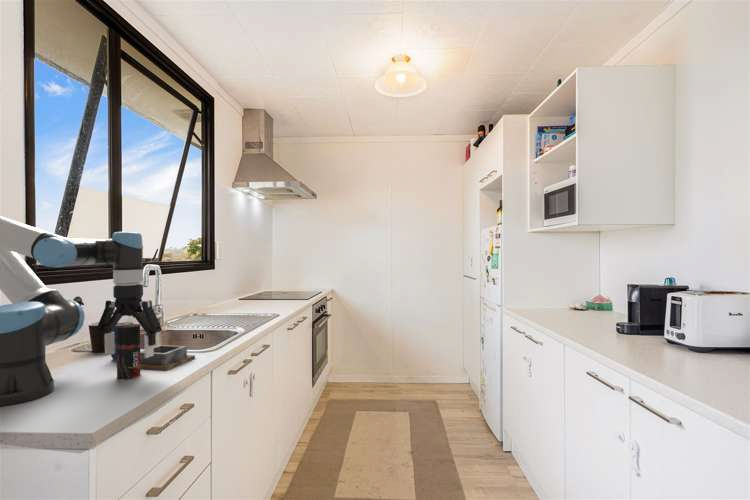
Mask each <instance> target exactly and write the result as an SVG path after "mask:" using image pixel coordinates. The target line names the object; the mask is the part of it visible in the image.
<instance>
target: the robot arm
mask: <svg viewBox="0 0 750 500" xmlns="http://www.w3.org/2000/svg"><path fill="white" fill-rule="evenodd" d="M143 250H144V246H143V236H142V234H141V233H139V232H136V231H135V232H134V231H116V232H113V234H112V237H111V238H107V239H106V238H75V237H74V238H73V237H65V236H62V235H60V234H59V235H58V234H56V233H52V232H49V231H48V230H47V231H46V230H44V229H40V228H38V227H35V226H31V225H28V224H25V223H23V222H19V221H16V220H12V219H10V218H8V217H7V218H6V217H3V216H0V291H1V292H2V293H3V294H4V295H5V296H6V298H7V299H8V300H9V301H10V303H8V304H7V303H6V304H2V305H0V407H1V406H3V407H4V406H10V405H14V404H15V405H16V404H21V403H26V402H28V401H32V400H36V399H39V398H42V397H44V396H47V395H48V394H49V395H50V393H52V392H53V391H54V389H55V380H54V378H53V376H52V373H51V371H50V369H49V368H50V367H49V366H48V364H47V361H46V360H47V359H46V346H49V345H53V344H56V343H58V342H63V341H66V340H68V339H69V338H72V337H73V336H75V335H77V333H79V331H80V330H81V329H82V328H83V325H84V321H85V319H86V318H85V316H86V315H85V311H84V309H83V307H82V306H81V304H80V303H78V302H77V301H75V300H71V299H67V298H65V297H63V295H62V294H61V292H60V291H59V290H58V289H55V288H48V287H47V286H46V284H45V283H43V281H42V280H41V279H40V278H39V277H38V276H37V274H36V273H35V272H34V270H33V269H32V268H31V267H30V266H29V265H28V264H27V263H26V261H25V260H24V259H23V258H22V257H21V255H22V256H25V257H27V258H32V259H35V261H36V262H38V263H39V265H41V266H44V267H46V268H47V267H49V268H56V269H57V268H58V269H59V268H64V267H73V266H75V267H77V266H91V265H112V269H113V270H112V273H113V274H112V279H113V280H112V283H113V284H114V286H113V289H112V290H113V298H114V299H108V300H105V305H104V309H103V312H102V315H101V317H100V320H99V321H98V322H99V324H98V326H97V331H101V332H102V333H103V343H104V344H105V352H104V356H105V357H108V356H111V354H115V347H114V332H112V330H113V328H114V327H115V326H116V324H117V323H120V322H119V321H120V320H121V319H122V318H123V317H124V316H127V317H132V318H134V319H136V321H137V323H138V324H140V327H142V329H143V330H144V332H145V333H146V334H144V335H143V336H144V337H143V338H144V340H143V341H144V350H145V358H148V357H151V356H154V347H155V346H156V334H158V333H161V332H162V330H163V328H162V326H161V324H160V321H159V319H158V317H157V315H156V313H155V311H154V308H153V301H152V300H151V299H149V300H142V297H143V296H144V285H143V284H142V283H143V282H144V276H143V275H144V270H143V269H144V267H143V264H144V263H143V256H144V252H143ZM115 308H116V309H115Z"/></svg>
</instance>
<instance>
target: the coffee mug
mask: <svg viewBox="0 0 750 500" xmlns="http://www.w3.org/2000/svg"><path fill="white" fill-rule="evenodd" d="M98 324H99V321H96V322H92V323H89V324H87V325H88V332H89V339H90V345H91V351H94V352H93V353H103V352H102V351H105V344H104V343H103V333H102V332H101V331H97V326H98Z"/></svg>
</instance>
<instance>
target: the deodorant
mask: <svg viewBox="0 0 750 500" xmlns="http://www.w3.org/2000/svg"><path fill="white" fill-rule="evenodd" d="M140 351H141V325H140V324H139V323H133V324H126V325H120V326H117V361H116V379H117V380H121V379H124V380H130V379H131V380H132V379H135V377H136V378H138V377H140V376H141V369H140Z"/></svg>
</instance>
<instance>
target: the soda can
mask: <svg viewBox="0 0 750 500" xmlns="http://www.w3.org/2000/svg"><path fill="white" fill-rule="evenodd" d="M126 324H134V323H133V322H118V323H117V324H116V326H115V327H114V328H113V330H112V332H114V347H115V354H111V355H110V356H111V359H112V360H113V361H116V362H117V326H120V325H126Z"/></svg>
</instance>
